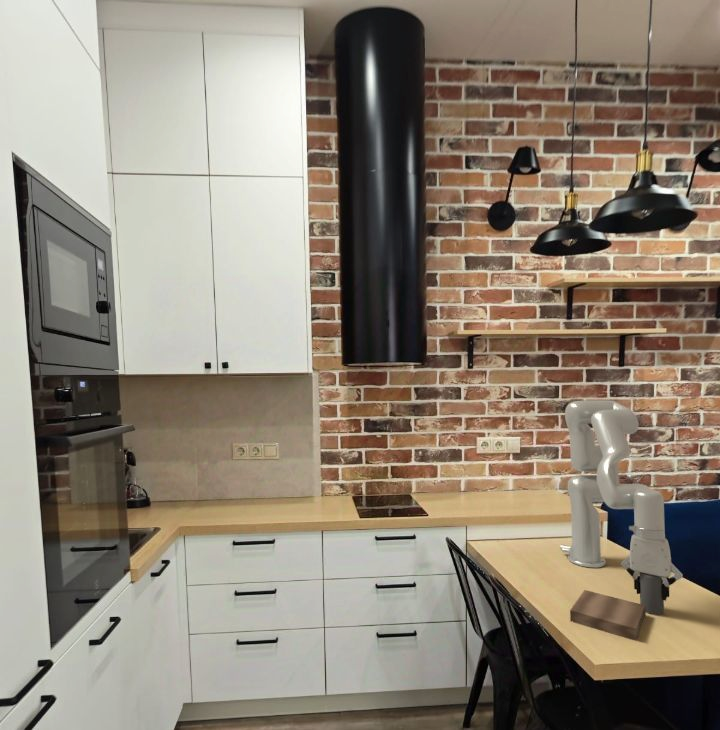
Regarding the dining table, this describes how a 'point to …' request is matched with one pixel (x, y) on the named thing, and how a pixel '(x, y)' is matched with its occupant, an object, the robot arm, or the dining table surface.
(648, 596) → the bottle
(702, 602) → the dining table surface
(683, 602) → the dining table surface
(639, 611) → the base
